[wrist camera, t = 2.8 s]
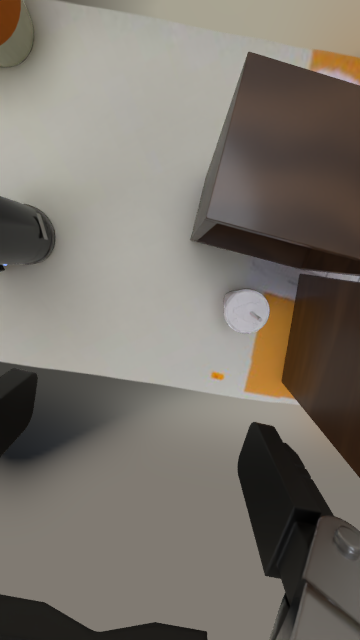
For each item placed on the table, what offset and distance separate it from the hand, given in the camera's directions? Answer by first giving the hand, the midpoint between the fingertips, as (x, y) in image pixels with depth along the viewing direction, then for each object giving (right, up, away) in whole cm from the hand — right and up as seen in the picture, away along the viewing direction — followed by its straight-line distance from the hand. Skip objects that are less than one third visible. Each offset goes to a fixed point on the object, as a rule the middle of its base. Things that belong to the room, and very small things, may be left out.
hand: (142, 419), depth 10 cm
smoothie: (+11, +7, +38) cm, 40 cm away
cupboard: (+14, +19, +35) cm, 42 cm away
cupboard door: (+24, +2, +39) cm, 46 cm away
